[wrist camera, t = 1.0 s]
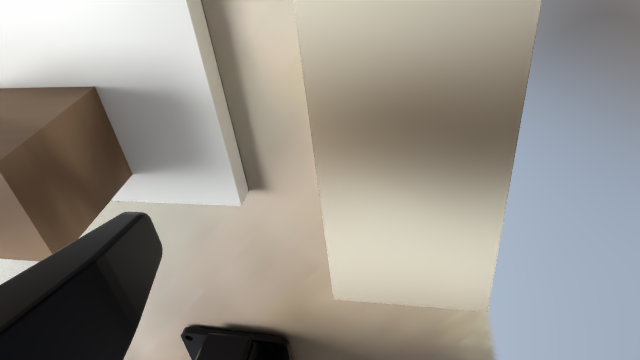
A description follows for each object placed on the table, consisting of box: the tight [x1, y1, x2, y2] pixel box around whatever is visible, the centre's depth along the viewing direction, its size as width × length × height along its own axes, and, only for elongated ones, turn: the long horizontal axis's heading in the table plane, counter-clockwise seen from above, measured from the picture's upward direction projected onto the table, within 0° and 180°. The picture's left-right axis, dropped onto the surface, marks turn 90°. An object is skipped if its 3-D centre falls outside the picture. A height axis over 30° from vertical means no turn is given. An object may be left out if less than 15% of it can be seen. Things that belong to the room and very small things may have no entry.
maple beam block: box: [293, 0, 542, 312], centre depth 13 cm, size 12×4×6 cm, turn 6°
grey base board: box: [0, 0, 248, 206], centre depth 16 cm, size 17×14×1 cm
